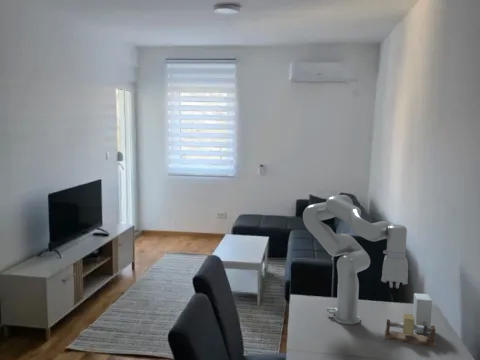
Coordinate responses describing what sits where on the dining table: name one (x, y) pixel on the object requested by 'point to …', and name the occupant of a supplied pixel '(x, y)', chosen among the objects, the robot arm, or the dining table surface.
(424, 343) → the rod stand
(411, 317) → the yellow rectangular block
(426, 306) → the skincare box
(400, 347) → the dining table surface
